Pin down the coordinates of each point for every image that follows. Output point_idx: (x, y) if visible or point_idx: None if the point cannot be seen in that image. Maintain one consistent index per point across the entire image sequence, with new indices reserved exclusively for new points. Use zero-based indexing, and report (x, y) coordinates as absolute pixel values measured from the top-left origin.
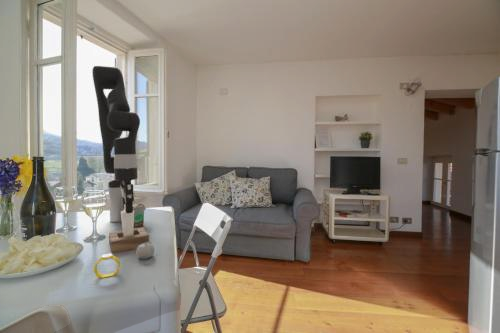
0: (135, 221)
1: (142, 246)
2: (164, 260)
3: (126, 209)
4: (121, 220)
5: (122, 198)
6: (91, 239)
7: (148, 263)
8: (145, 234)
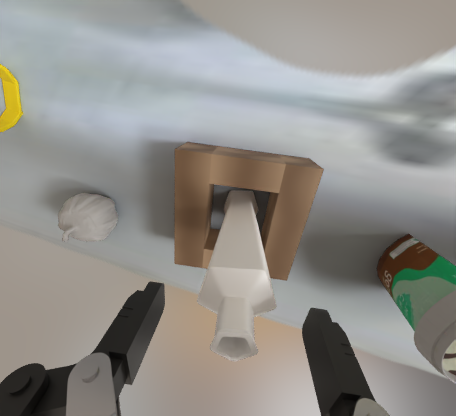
0: (398, 287)
1: (63, 216)
2: (62, 232)
3: (139, 302)
4: (255, 238)
5: (358, 401)
6: (435, 106)
7: (59, 201)
8: (186, 258)
